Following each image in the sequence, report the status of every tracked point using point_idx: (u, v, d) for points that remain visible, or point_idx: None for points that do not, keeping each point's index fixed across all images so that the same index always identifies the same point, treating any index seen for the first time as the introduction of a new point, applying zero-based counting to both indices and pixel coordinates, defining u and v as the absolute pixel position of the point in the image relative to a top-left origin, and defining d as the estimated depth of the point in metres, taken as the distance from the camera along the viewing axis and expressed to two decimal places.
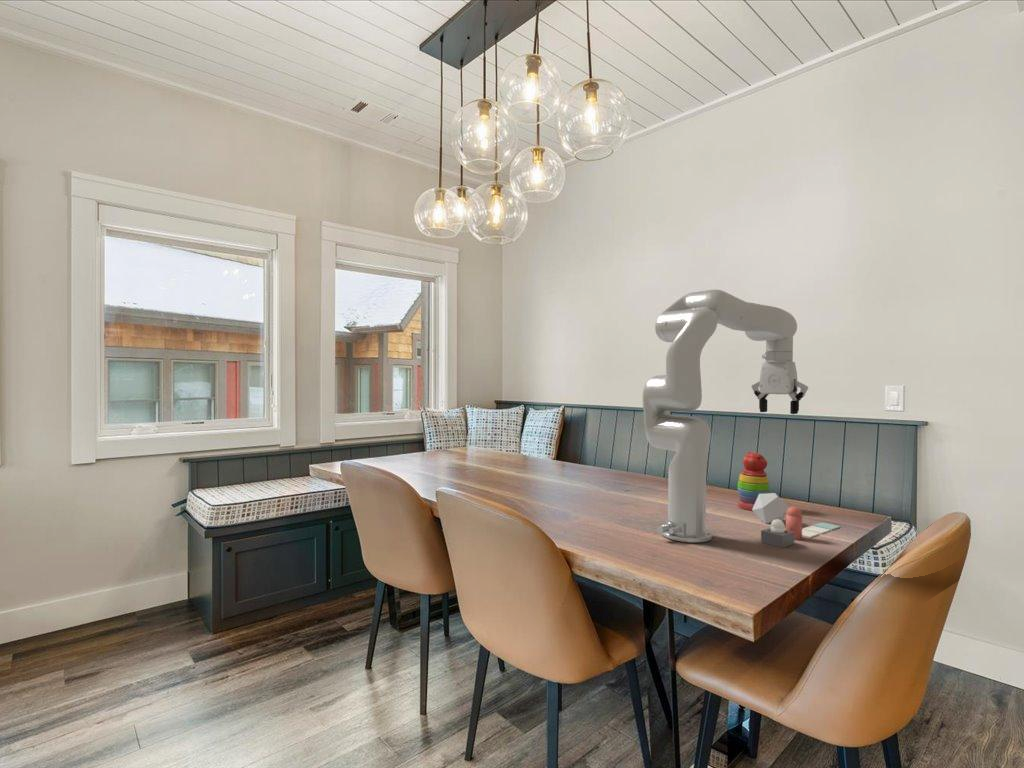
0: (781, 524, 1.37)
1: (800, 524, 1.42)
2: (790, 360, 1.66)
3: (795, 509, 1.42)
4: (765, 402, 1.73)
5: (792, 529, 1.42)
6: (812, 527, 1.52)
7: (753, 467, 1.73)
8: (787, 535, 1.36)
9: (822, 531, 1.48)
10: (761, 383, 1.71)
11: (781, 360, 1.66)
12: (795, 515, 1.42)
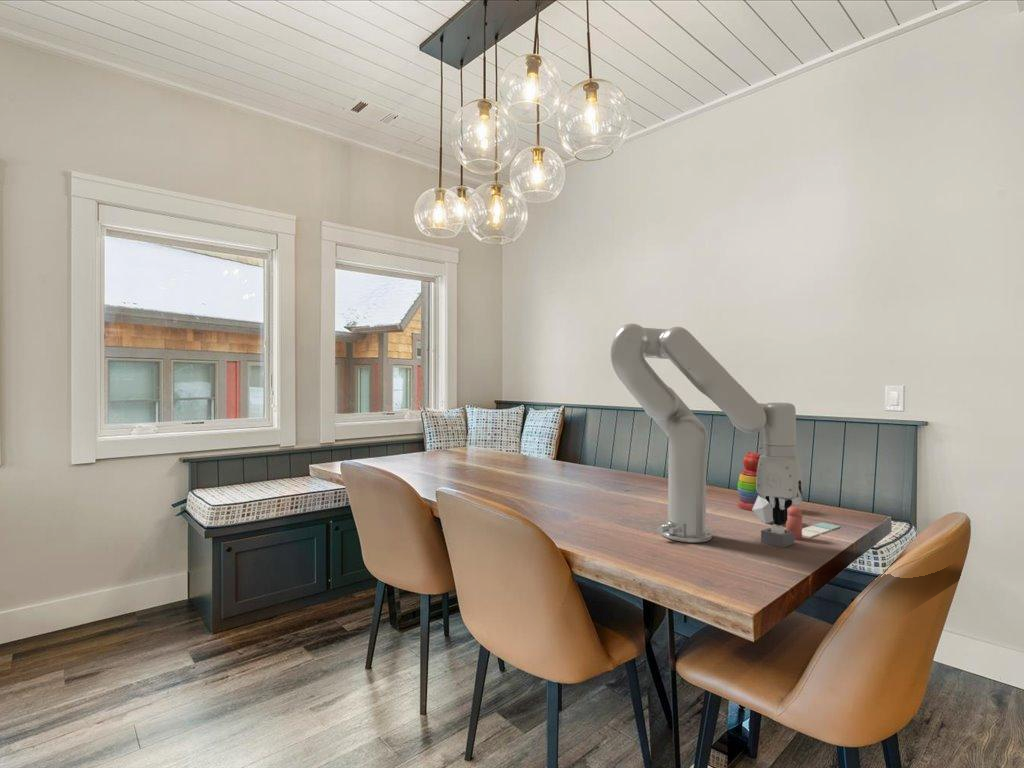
0: (781, 529, 1.37)
1: (800, 524, 1.42)
2: (793, 456, 1.35)
3: (795, 509, 1.42)
4: None
5: (792, 529, 1.42)
6: (812, 527, 1.52)
7: (753, 467, 1.73)
8: (787, 535, 1.36)
9: (822, 531, 1.48)
10: (758, 482, 1.40)
11: (782, 457, 1.35)
12: (795, 515, 1.42)
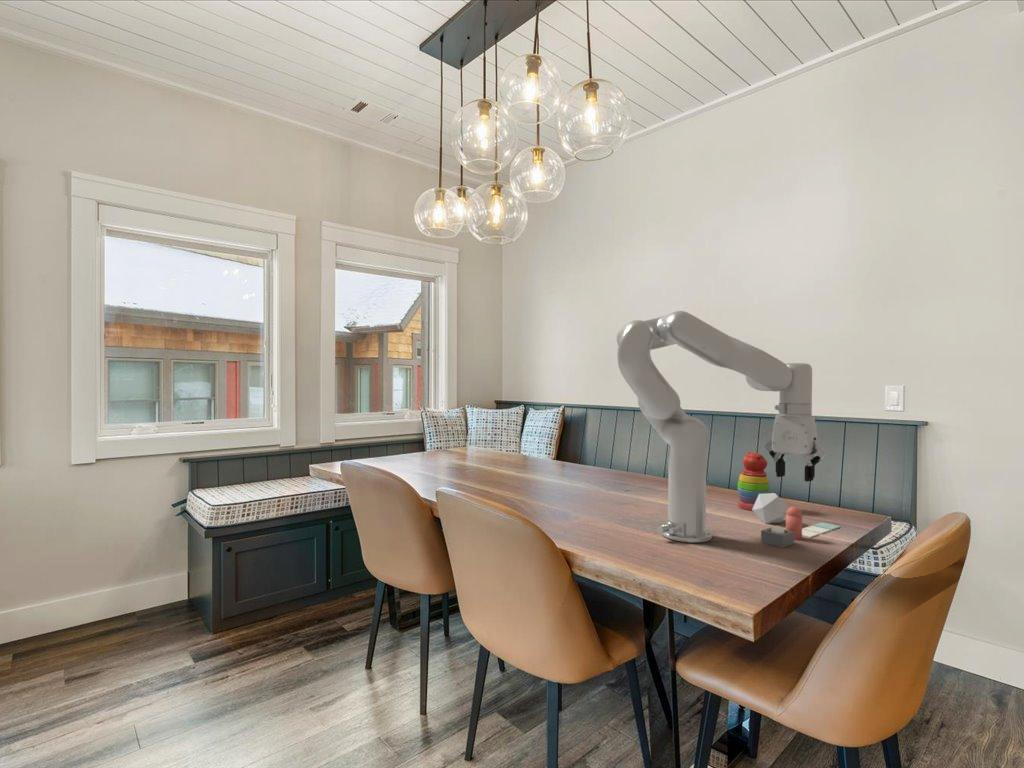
0: (781, 531, 1.37)
1: (800, 524, 1.42)
2: (809, 414, 1.40)
3: (795, 509, 1.42)
4: (782, 465, 1.46)
5: (792, 529, 1.42)
6: (812, 527, 1.52)
7: (753, 467, 1.73)
8: (787, 535, 1.36)
9: (822, 531, 1.48)
10: (774, 440, 1.45)
11: (798, 414, 1.39)
12: (795, 515, 1.42)
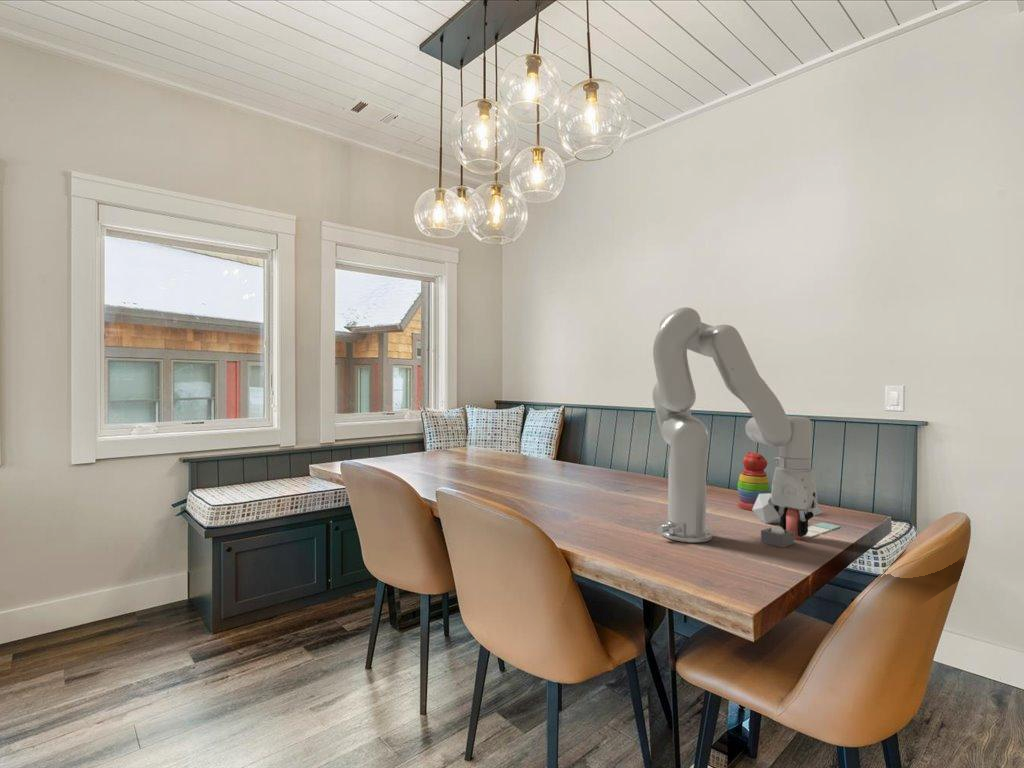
0: (781, 531, 1.37)
1: None
2: (808, 469, 1.40)
3: (795, 509, 1.42)
4: None
5: (792, 529, 1.42)
6: (812, 527, 1.52)
7: (753, 467, 1.73)
8: (787, 535, 1.36)
9: (822, 531, 1.48)
10: (773, 492, 1.45)
11: (797, 469, 1.39)
12: (795, 515, 1.42)
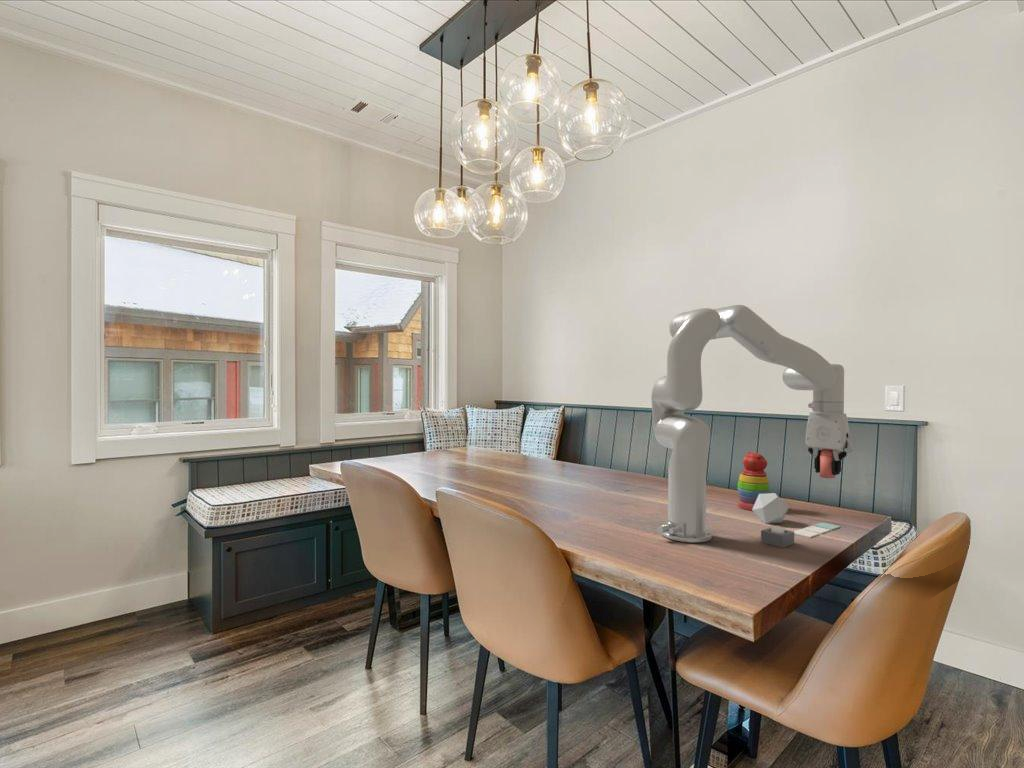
0: (781, 531, 1.37)
1: None
2: (841, 412, 1.50)
3: (829, 450, 1.52)
4: None
5: (826, 469, 1.52)
6: (812, 527, 1.52)
7: (753, 467, 1.73)
8: (787, 535, 1.36)
9: (822, 531, 1.48)
10: (808, 435, 1.55)
11: (832, 412, 1.50)
12: (829, 455, 1.52)
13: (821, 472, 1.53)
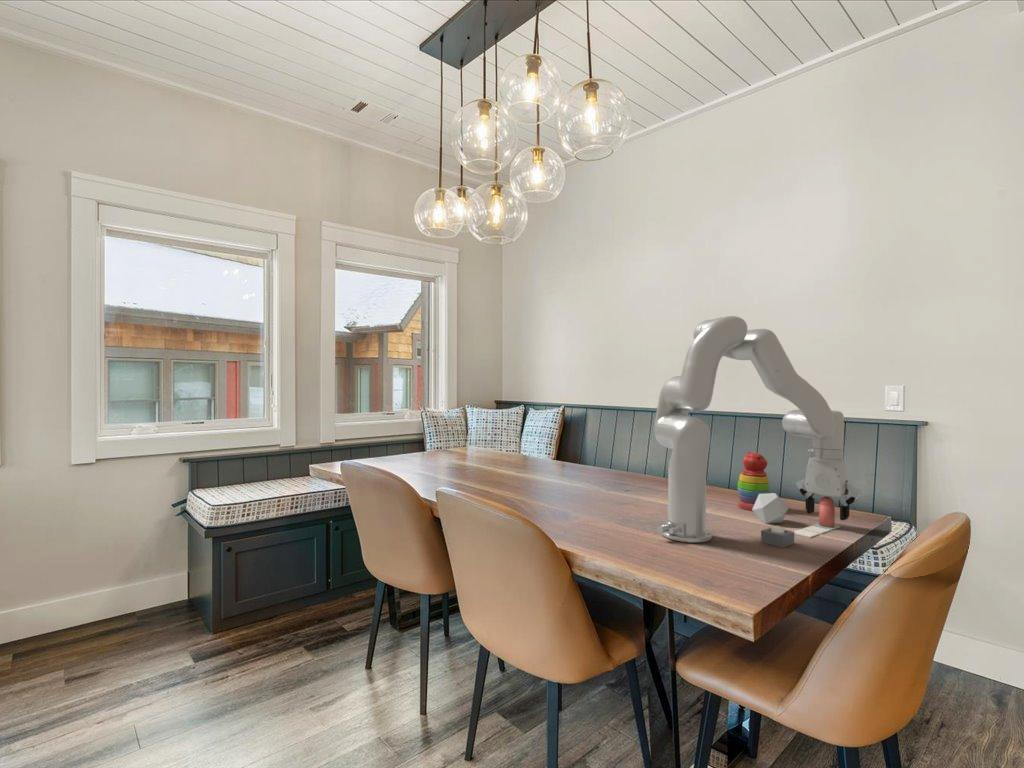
0: (781, 531, 1.37)
1: (833, 513, 1.52)
2: (841, 459, 1.50)
3: (828, 499, 1.52)
4: (812, 502, 1.57)
5: (826, 518, 1.52)
6: (812, 527, 1.52)
7: (753, 467, 1.73)
8: (787, 535, 1.36)
9: (822, 531, 1.48)
10: (807, 481, 1.55)
11: (831, 459, 1.50)
12: (828, 504, 1.52)
13: (820, 521, 1.53)
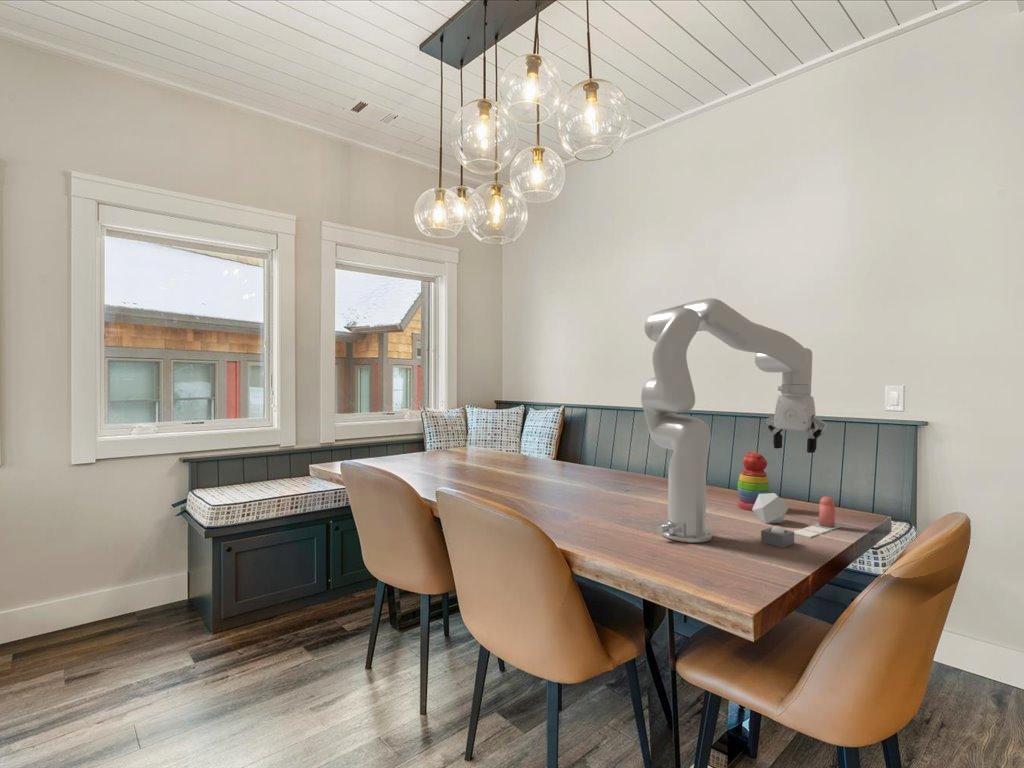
0: (781, 531, 1.37)
1: (833, 512, 1.52)
2: (808, 394, 1.54)
3: (829, 498, 1.53)
4: (779, 438, 1.61)
5: (826, 518, 1.52)
6: (812, 527, 1.52)
7: (753, 467, 1.73)
8: (787, 535, 1.36)
9: (822, 531, 1.48)
10: (776, 417, 1.59)
11: (798, 394, 1.54)
12: (828, 504, 1.52)
13: (821, 521, 1.53)
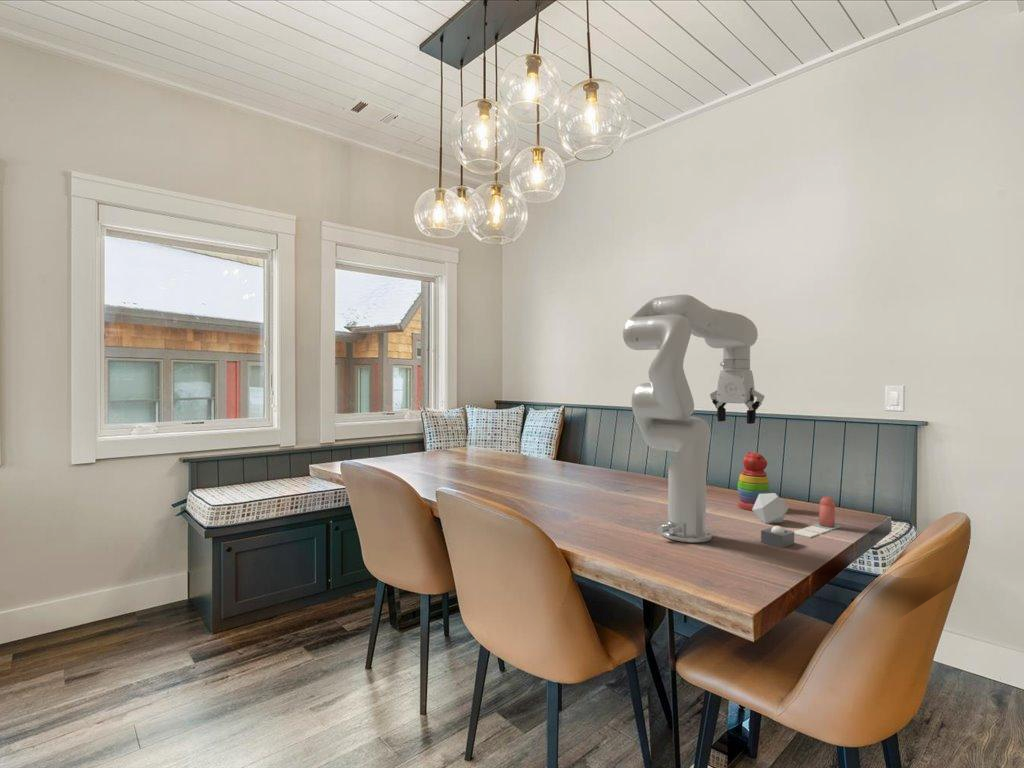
0: (781, 531, 1.37)
1: (833, 513, 1.52)
2: (747, 368, 1.62)
3: (829, 499, 1.52)
4: (722, 411, 1.69)
5: (826, 518, 1.52)
6: (812, 527, 1.52)
7: (753, 467, 1.73)
8: (787, 535, 1.36)
9: (822, 531, 1.48)
10: (718, 392, 1.67)
11: (738, 368, 1.62)
12: (829, 505, 1.52)
13: (821, 521, 1.53)
